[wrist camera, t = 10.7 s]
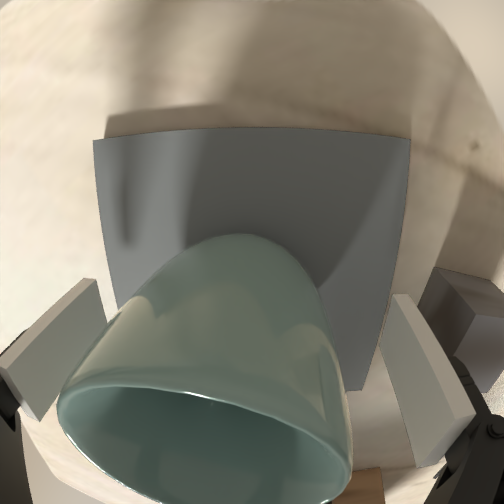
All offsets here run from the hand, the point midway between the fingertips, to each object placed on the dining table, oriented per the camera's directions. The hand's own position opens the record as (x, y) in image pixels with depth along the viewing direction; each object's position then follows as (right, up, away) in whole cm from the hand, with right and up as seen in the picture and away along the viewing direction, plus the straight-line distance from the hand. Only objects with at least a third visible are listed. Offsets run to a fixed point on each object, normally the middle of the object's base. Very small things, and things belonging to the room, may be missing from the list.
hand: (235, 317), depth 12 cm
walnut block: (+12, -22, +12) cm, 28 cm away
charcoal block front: (+13, -1, +3) cm, 13 cm away
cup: (0, +1, +3) cm, 3 cm away
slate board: (0, +1, +3) cm, 4 cm away
